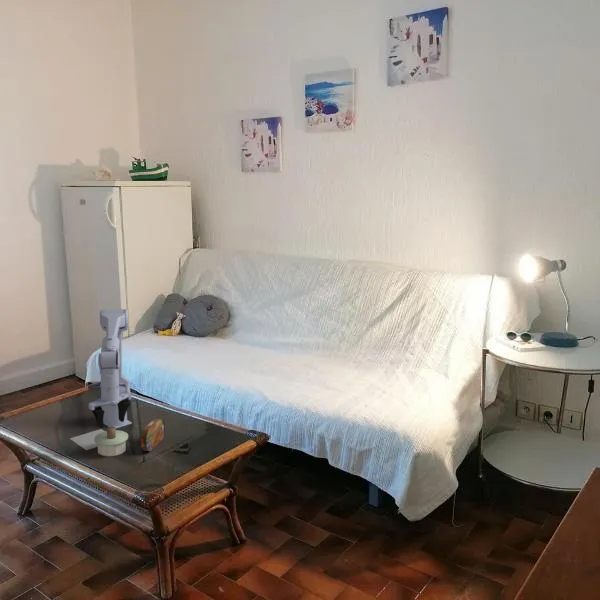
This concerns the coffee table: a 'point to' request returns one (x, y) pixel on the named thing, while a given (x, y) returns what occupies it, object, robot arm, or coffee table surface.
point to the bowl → (112, 449)
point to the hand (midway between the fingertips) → (111, 424)
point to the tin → (152, 434)
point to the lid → (111, 437)
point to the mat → (87, 439)
